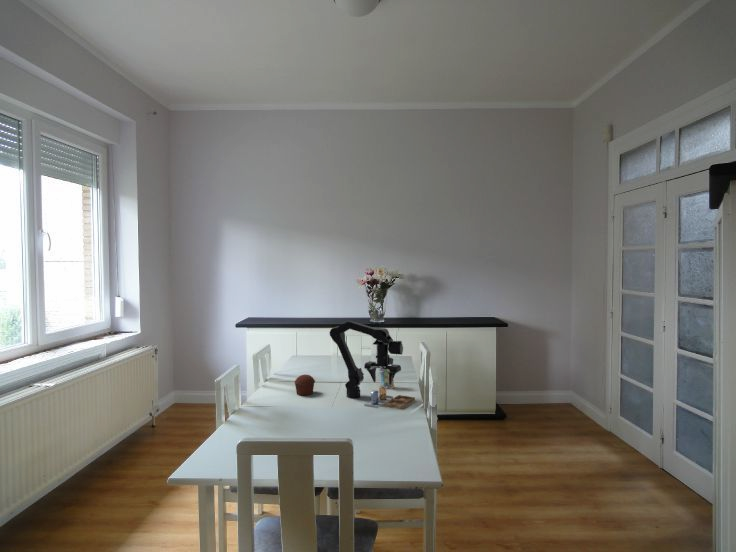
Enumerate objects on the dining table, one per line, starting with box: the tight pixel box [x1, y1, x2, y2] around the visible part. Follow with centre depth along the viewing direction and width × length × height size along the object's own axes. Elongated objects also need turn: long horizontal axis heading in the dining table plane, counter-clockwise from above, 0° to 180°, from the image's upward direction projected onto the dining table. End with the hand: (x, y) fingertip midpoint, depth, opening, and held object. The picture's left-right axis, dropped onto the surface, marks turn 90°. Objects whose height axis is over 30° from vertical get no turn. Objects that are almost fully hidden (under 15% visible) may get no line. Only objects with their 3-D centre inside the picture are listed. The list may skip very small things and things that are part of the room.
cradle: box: [363, 394, 394, 409], centre depth 231 cm, size 7×18×2 cm, turn 150°
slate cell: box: [370, 389, 379, 405], centre depth 227 cm, size 4×4×7 cm
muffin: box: [294, 374, 316, 397], centre depth 250 cm, size 12×11×10 cm
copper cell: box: [378, 386, 387, 401], centre depth 235 cm, size 4×4×7 cm
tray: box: [384, 394, 416, 410], centre depth 229 cm, size 9×16×2 cm, turn 150°
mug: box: [378, 368, 396, 390], centre depth 257 cm, size 12×9×11 cm
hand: (382, 383), depth 235 cm, fingers open, 9 cm apart
